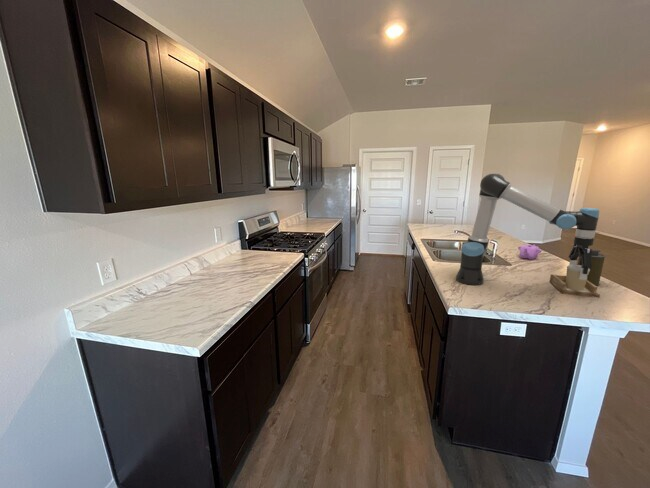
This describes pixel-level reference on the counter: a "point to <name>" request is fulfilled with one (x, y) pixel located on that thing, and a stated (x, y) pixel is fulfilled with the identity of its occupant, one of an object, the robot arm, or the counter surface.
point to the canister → (594, 266)
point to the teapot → (529, 251)
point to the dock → (560, 285)
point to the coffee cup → (575, 278)
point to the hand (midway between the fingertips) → (576, 275)
